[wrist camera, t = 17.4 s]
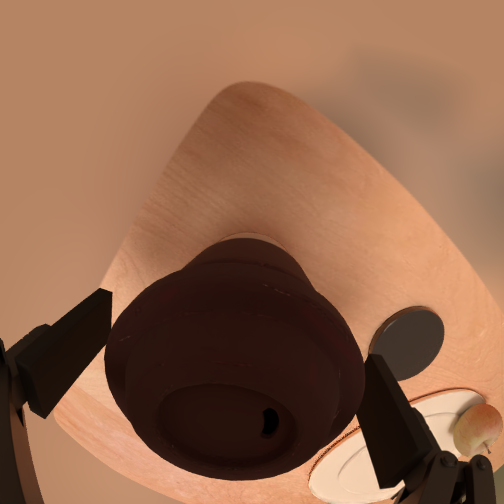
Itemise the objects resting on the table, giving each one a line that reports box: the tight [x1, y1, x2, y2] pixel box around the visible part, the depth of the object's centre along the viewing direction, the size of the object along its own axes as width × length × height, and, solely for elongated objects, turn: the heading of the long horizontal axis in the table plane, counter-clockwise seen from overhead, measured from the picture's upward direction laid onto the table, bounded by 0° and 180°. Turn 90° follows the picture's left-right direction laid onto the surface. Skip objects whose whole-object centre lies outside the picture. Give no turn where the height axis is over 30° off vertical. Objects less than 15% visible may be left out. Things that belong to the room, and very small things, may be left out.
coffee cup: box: [104, 232, 365, 481], centre depth 15 cm, size 10×10×15 cm
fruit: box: [453, 403, 503, 457], centre depth 23 cm, size 8×7×8 cm
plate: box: [309, 389, 486, 504], centre depth 28 cm, size 28×28×1 cm
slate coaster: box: [369, 306, 444, 381], centre depth 23 cm, size 8×8×1 cm
